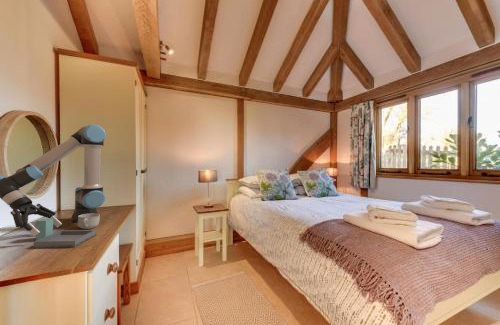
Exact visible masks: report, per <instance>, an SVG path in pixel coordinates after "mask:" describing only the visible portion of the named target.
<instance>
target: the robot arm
mask: <svg viewBox="0 0 500 325" xmlns="http://www.w3.org/2000/svg"><path fill="white" fill-rule="evenodd" d="M106 138H107V133H106V131H105V129H104V128H103V127H102V126H100V125H98V124H88V125H84V126H82V127H81V128H79V129H78V130H77V131H76V132H74V133H73V134H72V135H69V138H68V139H67V140H65V141H64V142H62V143H59V145H57V146H55V147H53V148H52V149H50V150H48V151H47V152H45V153H44V154H42V155H40V156H38V158H36V159H34V160H33V161H31V162H29V163H28V164H26V165H24V166H23V167H21V168H19V169H16V170H15V172H16V173H15V172H14V174H12V175H9V176H6V175H3V176H1V175H0V199H1V200H2V201H3V202H4V203H5V204H6V205H7V206H9V208H10V209H11V211H10V212H9V213H10V214H11V216H12V218H13V221H14V224H15V228H20V229H25V230H26V231H27V232H28V233H30V234H32V236H33V237H36V235H37V234H38V233H40V231H39V230H37V229H36V226H34V225H33V224H32V223H31V222H29V216H30V215H31V216H32V215H34V216H36V215H37V216H41V217H44V218H46V219H53V226H55V227H56V228H59V227H60V226H62V224H63V223H62V222H61V221H60V220H59V219H58V217H56V216H55V215H56V214H57V212H55V211H54V210H51V209H49V208H48V207H45V206H43V205H42V204H40V203H37V204H35V205H34V204H33V200H31V199H30V197H29V196H27V194H25V192H23V191H22V190H21V188H23V187H25V186H27V185H29V184H30V183H32V182H34V181H37V180H39V179H41V178H42V177H43V176H44V173H43V172H44V171H45V170H48V168H51V167H52V166H54V165H55V164H57V163H58V162H60V161H61V160H63V159H64V158H66V157H67V156H69V155H70V154H73V152H75V151H77V150H78V149H80V148H81V149H82V148H84V151H83V152H84V155H83V167H84V168H83V185H82V186H78V187H76V188H75V190H74V211H73V212H72V216H71V218H70V221H71V223H78V216H79V215H82V214H92V213H94V214H99V212H98V209H97V208H99V207H101V206H102V205H103V204H104V203H105V202H106V195H105V193H104V186H103V185H102V184H101V171H102V170H101V169H102V168H101V166H102V165H101V162H102V161H101V160H102V159H101V158H102V155H101V154H102V153H101V151H102V150H101V149H102V148H103V147H104V143H105V140H106Z"/></svg>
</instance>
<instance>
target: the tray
mask: <svg viewBox="0 0 500 325" xmlns="http://www.w3.org/2000/svg"><path fill="white" fill-rule="evenodd" d="M95 236H97V229H70V230H69V229H65V230H64V229H61V230H59V231H56V232H53V234H51V235H49V236H46V237H44V238H41V239H39V240H36V239H35V241H33V249H41V248H42V249H45V248H47V249H50V248H51V249H52V248H55V249H56V248H58V249H59V248H76V247H79V246H80V245H81V244H83V243H85V242H87V241H89V240H91V239H92V238H94V237H95Z"/></svg>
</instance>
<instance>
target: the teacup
mask: <svg viewBox="0 0 500 325" xmlns="http://www.w3.org/2000/svg"><path fill="white" fill-rule="evenodd" d="M100 220H101V214H100V213H98V214H94V213H92V214H82V215H79V216H78V222H77V227H79V229H80V230H93V229H94V228H96V227H97V226H98V225H99V223H100Z"/></svg>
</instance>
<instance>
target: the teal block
mask: <svg viewBox="0 0 500 325" xmlns="http://www.w3.org/2000/svg"><path fill="white" fill-rule="evenodd" d="M35 228H36V229H37V230H39V231H40V233H38V234H37V235H36V236H35V241H36V240H39V239H41V238H44V237H46V236H49V235H51V234H53V233H54V224H53V219H49V218H41V219H38V220H36V221H35Z"/></svg>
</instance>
